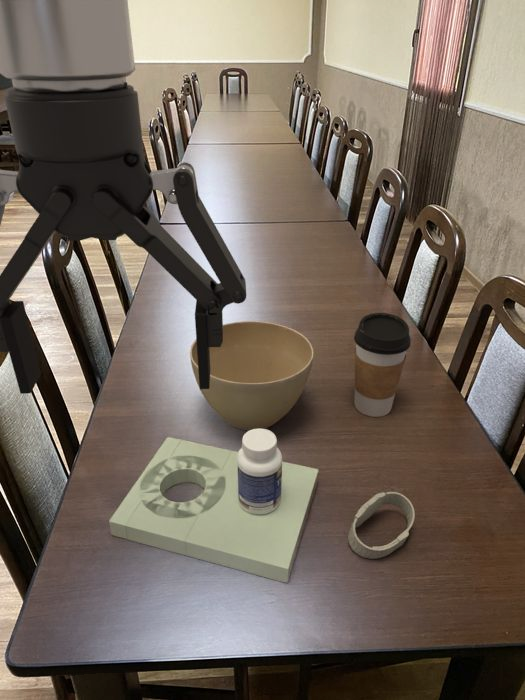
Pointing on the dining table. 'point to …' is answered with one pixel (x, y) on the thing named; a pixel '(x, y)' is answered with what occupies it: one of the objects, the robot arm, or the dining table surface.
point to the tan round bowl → (256, 373)
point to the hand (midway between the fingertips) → (118, 381)
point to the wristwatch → (368, 510)
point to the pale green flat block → (215, 511)
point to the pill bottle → (259, 472)
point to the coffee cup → (379, 361)
